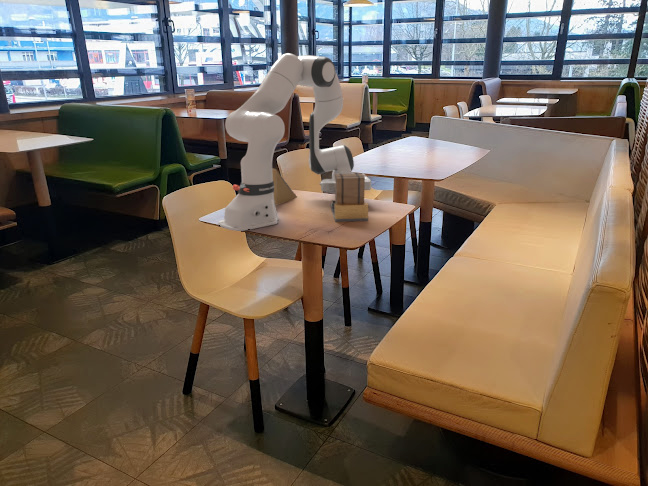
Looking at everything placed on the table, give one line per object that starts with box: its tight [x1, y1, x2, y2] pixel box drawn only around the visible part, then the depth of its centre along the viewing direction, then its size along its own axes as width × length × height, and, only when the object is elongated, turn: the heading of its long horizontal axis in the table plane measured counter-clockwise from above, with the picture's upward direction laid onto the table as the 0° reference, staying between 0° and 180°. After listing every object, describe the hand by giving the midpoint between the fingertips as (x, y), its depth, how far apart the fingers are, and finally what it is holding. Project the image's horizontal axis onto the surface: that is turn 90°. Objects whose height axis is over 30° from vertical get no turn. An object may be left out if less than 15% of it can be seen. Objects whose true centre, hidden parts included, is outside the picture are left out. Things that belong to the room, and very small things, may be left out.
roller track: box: [330, 199, 369, 223], centre depth 188 cm, size 22×12×6 cm, turn 4°
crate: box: [334, 174, 365, 204], centre depth 182 cm, size 8×10×12 cm
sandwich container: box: [272, 168, 298, 206], centre depth 207 cm, size 9×15×15 cm, turn 150°
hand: (347, 189), depth 190 cm, fingers closed
